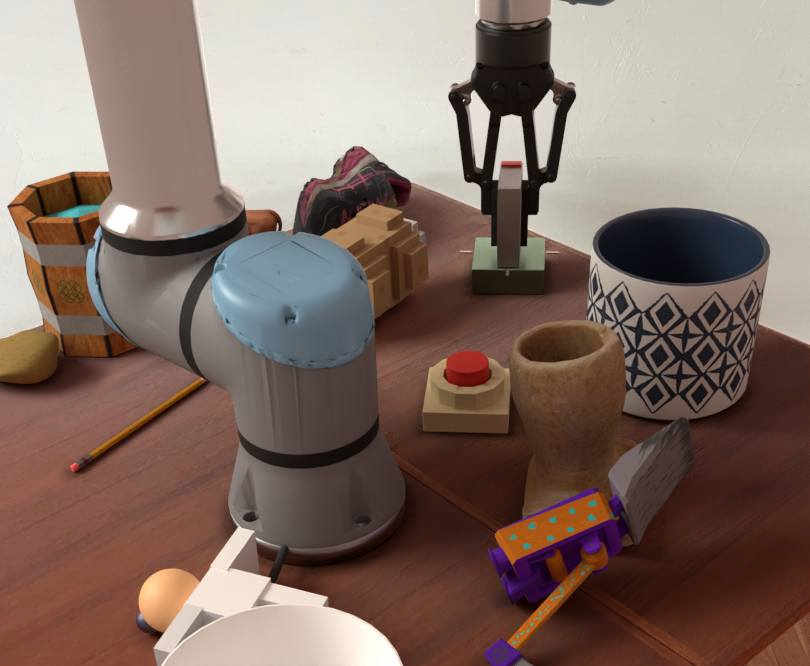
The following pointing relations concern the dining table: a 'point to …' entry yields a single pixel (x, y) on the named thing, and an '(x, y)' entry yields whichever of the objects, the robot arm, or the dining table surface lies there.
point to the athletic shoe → (349, 192)
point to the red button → (467, 369)
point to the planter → (680, 306)
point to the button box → (467, 402)
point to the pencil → (135, 426)
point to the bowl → (286, 640)
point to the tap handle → (509, 213)
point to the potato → (28, 356)
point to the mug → (66, 259)
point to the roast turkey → (385, 253)
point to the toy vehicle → (585, 532)
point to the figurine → (210, 594)
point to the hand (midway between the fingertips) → (509, 240)
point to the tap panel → (508, 269)
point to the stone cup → (569, 408)
